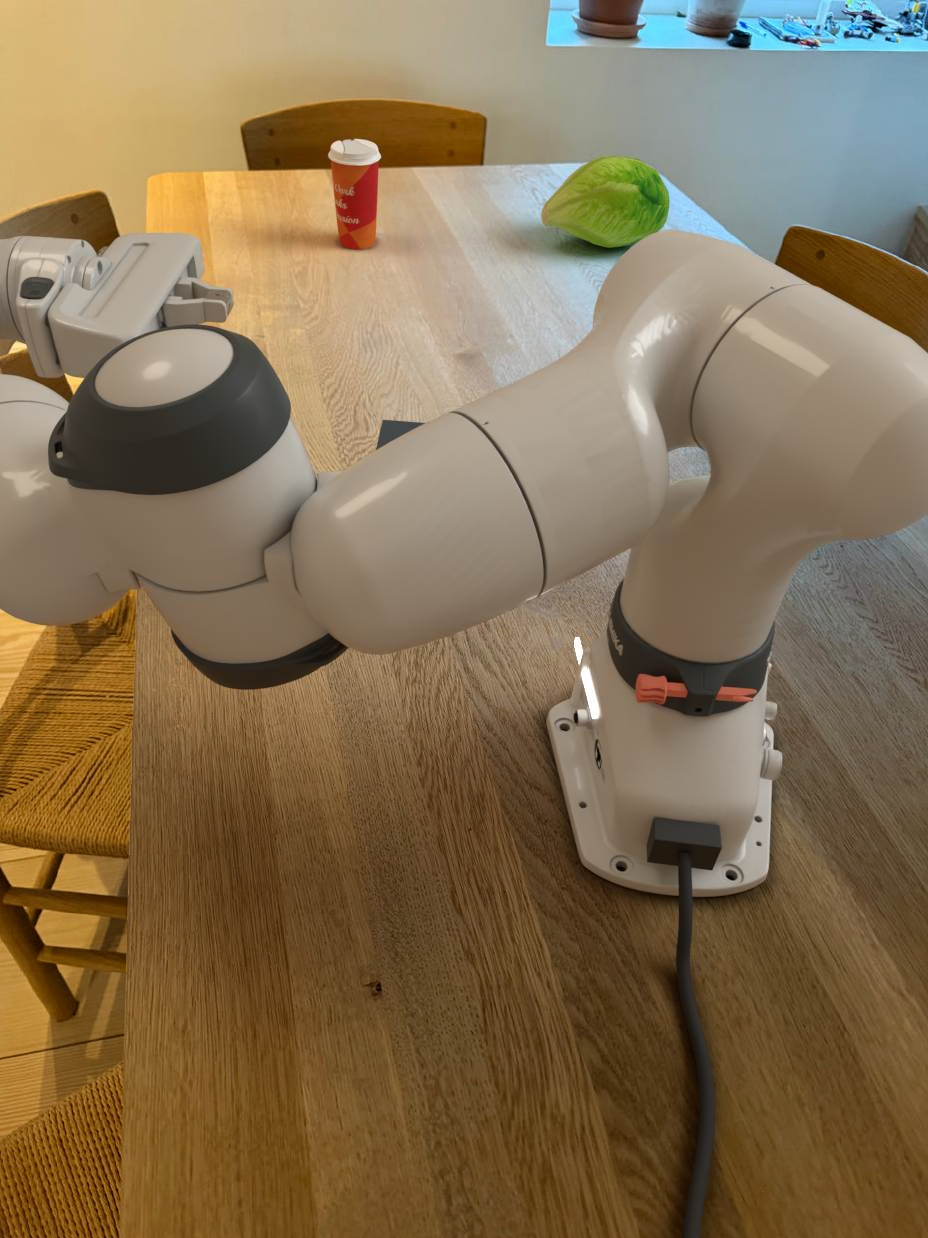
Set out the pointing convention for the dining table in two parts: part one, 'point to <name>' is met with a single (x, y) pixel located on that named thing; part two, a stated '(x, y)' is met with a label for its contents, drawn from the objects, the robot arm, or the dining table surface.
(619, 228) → the lettuce
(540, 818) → the dining table surface
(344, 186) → the paper cup
